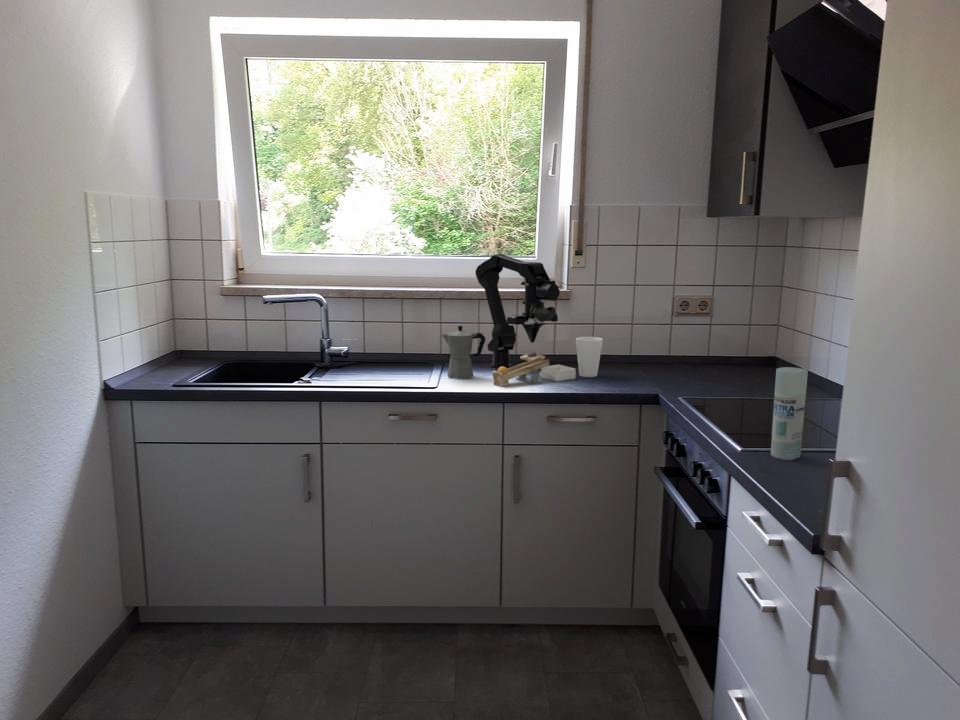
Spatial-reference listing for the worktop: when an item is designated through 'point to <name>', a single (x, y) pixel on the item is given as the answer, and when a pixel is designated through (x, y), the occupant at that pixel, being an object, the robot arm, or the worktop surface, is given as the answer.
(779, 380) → the spray paint can
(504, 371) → the ball
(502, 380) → the lever
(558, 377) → the dish
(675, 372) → the worktop surface
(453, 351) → the coffeepot
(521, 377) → the fulcrum
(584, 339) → the foam cup
